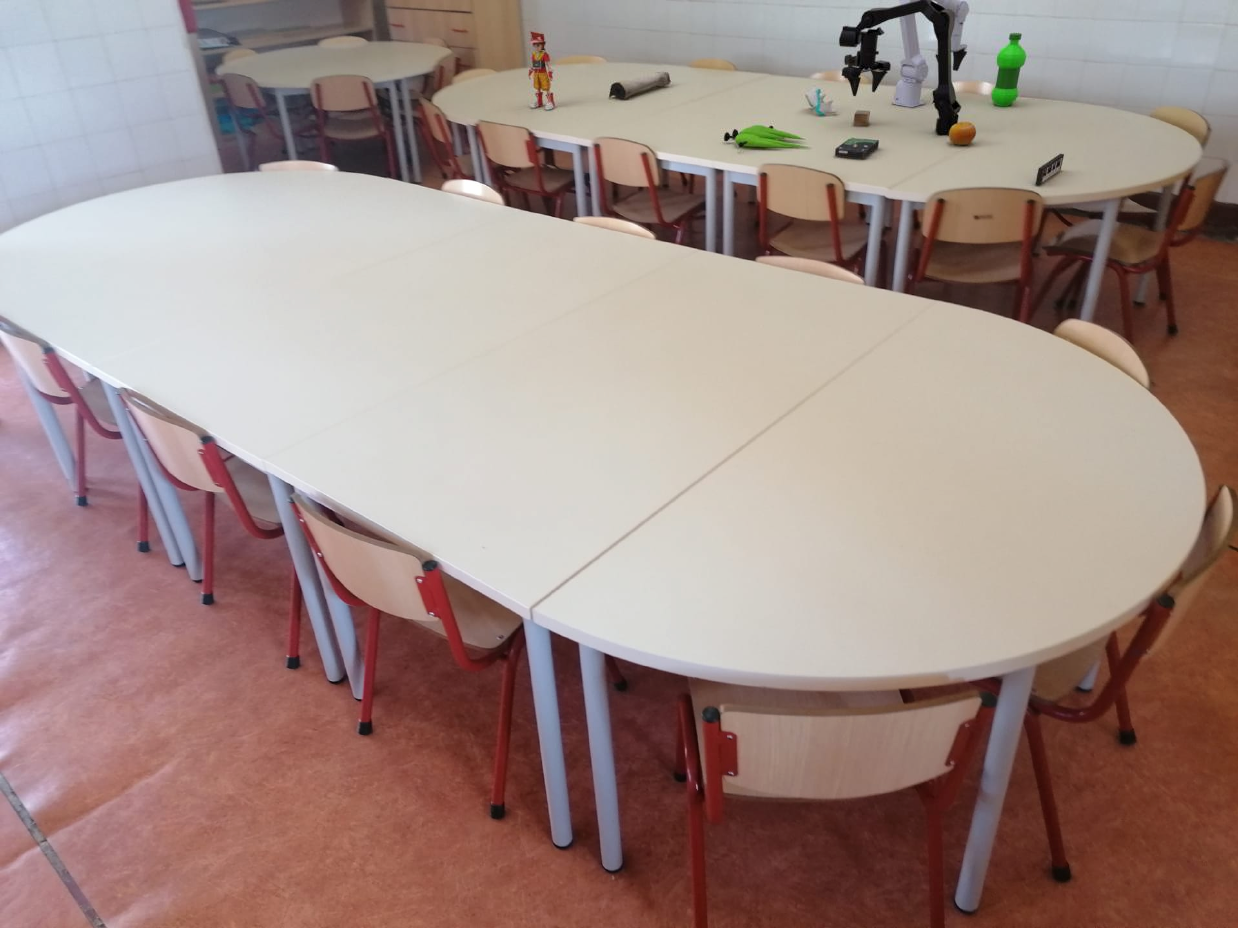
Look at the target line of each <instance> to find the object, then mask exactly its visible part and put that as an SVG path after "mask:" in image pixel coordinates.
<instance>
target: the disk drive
mask: <svg viewBox="0 0 1238 928" xmlns="http://www.w3.org/2000/svg"><path fill="white" fill-rule="evenodd" d="M879 145H880V140H879V139H870V138H869V139H868V138H855V137H850V138H848V139H846V140H845V141H844V142H843V143H841V144H840V145H838V146H837V147H835V151H834V156H836V157H842V158H849V159H865V158H867V157H868V156H870V155H871V154H872V153H873V152H875V151H876V150H877V149H878V148H879Z"/></svg>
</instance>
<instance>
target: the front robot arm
mask: <svg viewBox="0 0 1238 928" xmlns="http://www.w3.org/2000/svg"><path fill="white" fill-rule="evenodd" d="M914 13H915V14H918V13H921V14H922V15H923V16H924V17H925V18H926V19H927V20H928V21H929V22H930V23H932V26H933V32H934V35H935V38H936V41H937V49H938V62H937V87H936V88H935V89H934V90H932V104H933V106H934V108H935V110H936V111H937V113H938V117H937V118H936V121H935V128H934V130H935V132H936V134H937V135H938V136H946V135H947V136H949V131H950V129H951V127H952V126H953V125H955V124H957V123H959V117H960V116H959V114H958V113H960V111H961V109H962V106H961V104H960V103H959V102H958V100H957V95H956V90H955V87H954V84H953V80H952V52H951V36H952V33H953V29H954V24H955V13H954V12H953V11H952V10H951V9H945V8H944V7H943V6H941V5H939V4H937V2H935V1H933V0H917V1H914V2H910V3H906V4H902V5H900V4H899V5H895V6H891V7H873V8H870V9H868V10H866V11H864V12H863V14H862V15H861V18H860V21H859V23H858V24H857V25H856V26H850V25H844V26H842V30H841V32H840V36H839V37H838V44H839V45H838V46H839V47H842V48H857V47H858V46H860V47H859V50H857V52H856V55H852V53H851V54H846V55H845V56H844V58H843V59H844V60H843V63H844V65H845V67H843V68H842V69H841V76H842V77H844V79H846V80H847V81H848V82H849V86H850V89H851V94H852V96H853V97H856V96H857V94H858V90H859V86H860V83H861V74H862V73H867V72H870V73H871V76H872V80H871V81H872V82H871V92H872V93H875V92H876V91H877V89H878V88H879V85H880V84H881V82H882V80H883V79H884V78H885V76H886V75H887V74H888V72H889V71H891V67H892V65H891V62H890V61H886V60H881V59H880V60H877V59H876V58H877V57H876V56H877V55H878V56H879V53H880V51H879V50H877V49H878V39H879V36H882V35H884V34H885V31H884V30H883V29H882V27H881V26H879V25H881V24H884V23H885V22H887V21H890V20H894V19H898V18H899V17H902V16H906V15H910V14H914ZM877 26H879V27H877ZM874 27H877V28H874ZM866 29H867V31H864V30H866Z"/></svg>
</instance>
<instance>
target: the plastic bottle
mask: <svg viewBox="0 0 1238 928" xmlns="http://www.w3.org/2000/svg"><path fill="white" fill-rule="evenodd" d="M1008 40H1009V43H1008V44H1007V45H1006V46H1004V47H1003V48H1002V49H1000V50H999V52H998V53H997V55H996V65H997V67H998V69H997V75H996V81H995V82H996V83H995V86H994V87H993V89H992V90H991V100H992V102H993V103H994V104H995V105H996V106H998V107H1009V106H1011V105H1012V104H1013V103H1014V102H1016V100H1017V99H1018V96H1019V90H1018V83H1019V79H1020V78H1019V77H1020V74H1021V73H1020V72H1021V68H1022V67H1023V66H1024V65H1025V63H1026V59H1027V54H1026V53H1027V52H1026V50H1025V49H1024V48H1023V47H1022V46H1021V45H1020V43H1019V42H1020V41H1021V40H1022V33H1020V32H1011V33H1009V37H1008Z"/></svg>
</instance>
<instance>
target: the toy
mask: <svg viewBox="0 0 1238 928" xmlns="http://www.w3.org/2000/svg"><path fill="white" fill-rule="evenodd" d="M529 33H530V35H531V36H528V37H527V38H528V39H529V40H528V41H527V43H529V44H530V43H531V44H532V48H533V50H534V51H533V52H532V55H531V58H530V59H531V63H530V66H528V74H527V75H528V76H527V77H528V79H529V80H531V75H532V74H533V84H532V85H533V86H532V87H533V88H534V89H535V90H536V92H534V95H535V97H536V100H535V101H533V102H531V105H530V108H531V109H535V108H538V107H542V106H544V101H543V100H544V99H543V95H544V92H546V94H545V97H546V99H547V103H546V104H545V106H544V110H546V111H549V110H553V109H554V107H555V106H556V105H555V99H554V92H551V91H550V90H551V86H552V84H551V82H552V81H553V80H554V77H553V73H554V71H555V70H554V69H552V68H551V63H550V61H551V59H550V58H551V57H550V54H549V53H548V52H547V50H546V48H545V46H546V44H547V41H545V35H544V33H543V32H542V33H539V32H535V31H529Z"/></svg>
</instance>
